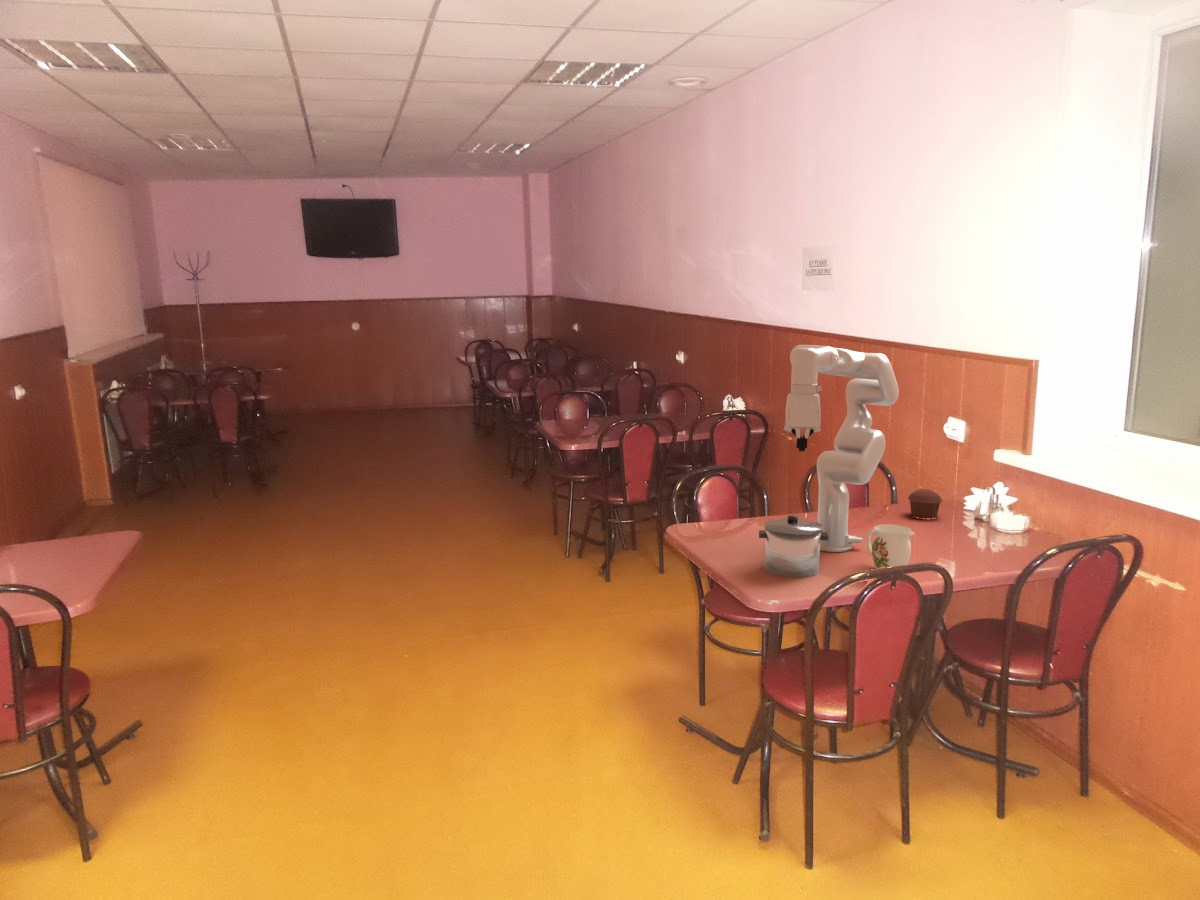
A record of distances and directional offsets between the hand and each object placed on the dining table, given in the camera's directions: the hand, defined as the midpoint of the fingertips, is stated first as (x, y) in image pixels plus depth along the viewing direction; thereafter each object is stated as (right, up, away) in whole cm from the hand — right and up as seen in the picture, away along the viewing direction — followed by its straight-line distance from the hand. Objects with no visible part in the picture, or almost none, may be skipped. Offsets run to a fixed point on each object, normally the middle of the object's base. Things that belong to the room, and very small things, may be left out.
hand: (801, 450), depth 258 cm
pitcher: (+25, -36, -1) cm, 44 cm away
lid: (-3, -23, -1) cm, 23 cm away
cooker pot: (-3, -36, +1) cm, 36 cm away
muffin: (+58, -24, +57) cm, 85 cm away
